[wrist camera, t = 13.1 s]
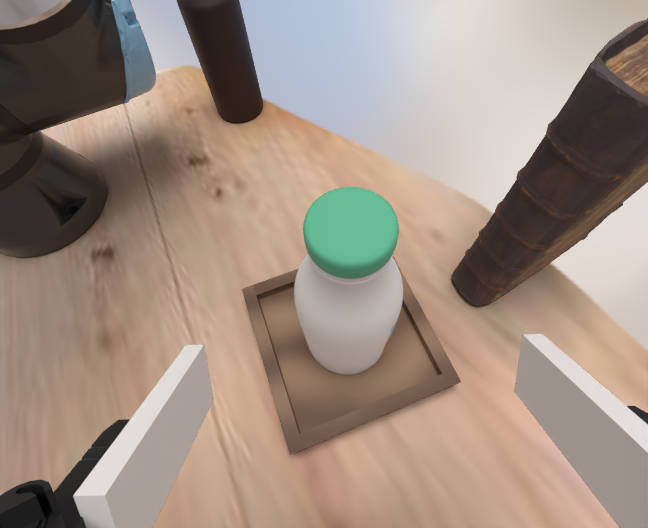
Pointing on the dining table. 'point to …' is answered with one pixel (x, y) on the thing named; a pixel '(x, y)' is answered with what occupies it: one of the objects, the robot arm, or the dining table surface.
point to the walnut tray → (337, 389)
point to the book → (569, 174)
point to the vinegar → (224, 56)
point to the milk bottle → (349, 279)
